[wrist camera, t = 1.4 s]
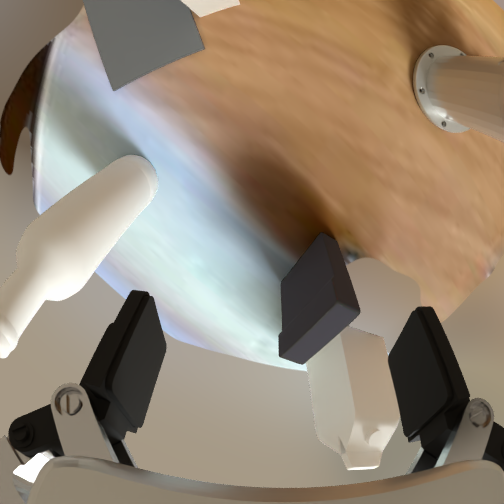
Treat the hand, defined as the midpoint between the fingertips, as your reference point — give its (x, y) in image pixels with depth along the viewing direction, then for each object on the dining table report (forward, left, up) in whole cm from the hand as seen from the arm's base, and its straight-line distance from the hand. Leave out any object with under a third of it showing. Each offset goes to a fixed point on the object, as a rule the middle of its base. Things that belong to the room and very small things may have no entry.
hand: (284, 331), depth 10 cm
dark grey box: (0, +18, -30) cm, 35 cm away
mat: (+11, -24, -29) cm, 39 cm away
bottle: (+20, -2, -30) cm, 36 cm away
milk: (-4, +41, -30) cm, 51 cm away
